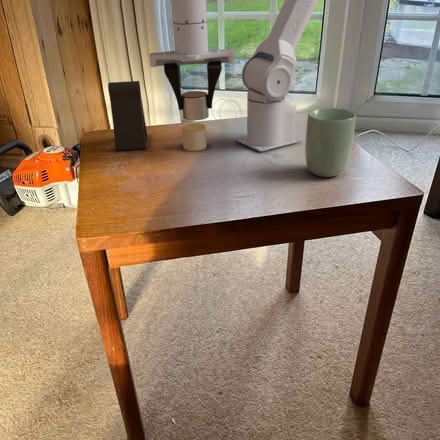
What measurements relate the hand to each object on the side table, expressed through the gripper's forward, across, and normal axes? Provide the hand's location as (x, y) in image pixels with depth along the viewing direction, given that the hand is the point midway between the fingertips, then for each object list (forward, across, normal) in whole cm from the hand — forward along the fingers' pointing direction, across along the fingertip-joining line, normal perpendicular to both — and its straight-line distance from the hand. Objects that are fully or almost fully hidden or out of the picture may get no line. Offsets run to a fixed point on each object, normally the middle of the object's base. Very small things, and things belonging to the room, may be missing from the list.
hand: (195, 107), depth 83 cm
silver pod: (+2, 0, 0) cm, 2 cm away
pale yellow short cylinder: (+9, 0, +5) cm, 10 cm away
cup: (+9, +22, -12) cm, 27 cm away
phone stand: (+9, -14, +9) cm, 19 cm away
